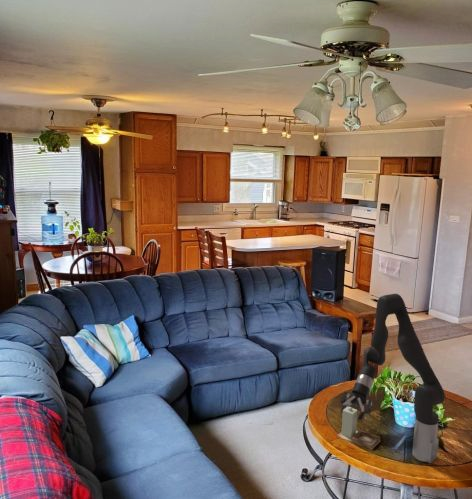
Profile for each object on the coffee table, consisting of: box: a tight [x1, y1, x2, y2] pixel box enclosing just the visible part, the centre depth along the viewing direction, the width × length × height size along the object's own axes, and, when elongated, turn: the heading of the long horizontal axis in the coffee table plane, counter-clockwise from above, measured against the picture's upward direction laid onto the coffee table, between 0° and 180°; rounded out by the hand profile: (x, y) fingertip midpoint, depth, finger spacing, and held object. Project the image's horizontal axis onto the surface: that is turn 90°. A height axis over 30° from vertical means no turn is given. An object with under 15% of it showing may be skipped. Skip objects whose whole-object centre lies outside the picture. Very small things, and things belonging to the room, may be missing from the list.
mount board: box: [337, 429, 381, 451], centre depth 209 cm, size 17×10×3 cm, turn 50°
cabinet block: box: [340, 406, 358, 438], centre depth 211 cm, size 5×5×13 cm
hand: (350, 417), depth 212 cm, fingers open, 8 cm apart
